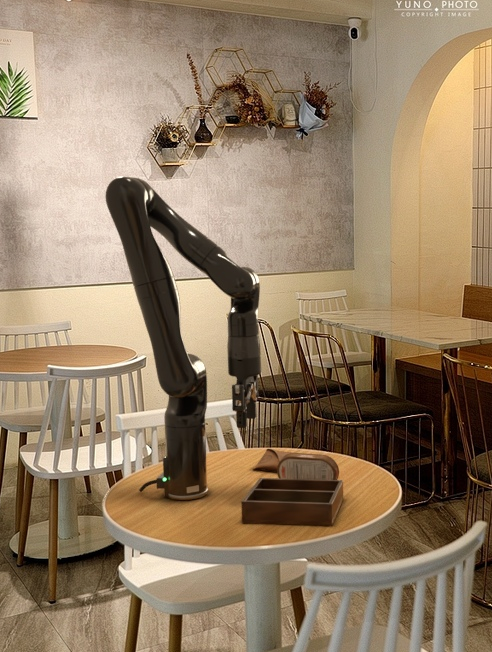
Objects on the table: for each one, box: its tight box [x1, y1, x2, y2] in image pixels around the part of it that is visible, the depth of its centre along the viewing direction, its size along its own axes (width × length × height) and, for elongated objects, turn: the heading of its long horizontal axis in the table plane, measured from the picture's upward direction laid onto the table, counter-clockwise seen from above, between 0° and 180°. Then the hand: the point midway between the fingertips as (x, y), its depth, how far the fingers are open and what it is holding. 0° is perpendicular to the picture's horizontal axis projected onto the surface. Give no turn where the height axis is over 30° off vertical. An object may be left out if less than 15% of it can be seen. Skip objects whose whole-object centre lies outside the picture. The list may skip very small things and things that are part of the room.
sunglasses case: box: [252, 448, 294, 473], centre depth 225 cm, size 18×7×7 cm
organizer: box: [240, 477, 344, 527], centre depth 194 cm, size 20×16×5 cm
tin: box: [276, 452, 340, 480], centre depth 210 cm, size 15×3×8 cm, turn 78°
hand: (246, 423), depth 203 cm, fingers open, 8 cm apart
